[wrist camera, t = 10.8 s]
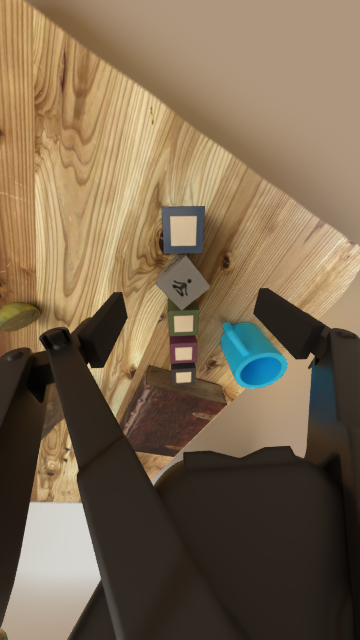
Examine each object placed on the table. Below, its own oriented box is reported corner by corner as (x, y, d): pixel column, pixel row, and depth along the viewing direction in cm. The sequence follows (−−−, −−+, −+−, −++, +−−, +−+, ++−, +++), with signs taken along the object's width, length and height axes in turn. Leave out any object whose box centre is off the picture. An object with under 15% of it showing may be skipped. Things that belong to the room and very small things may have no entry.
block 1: (198, 210, 20) (205, 206, 16) (196, 248, 22) (202, 253, 18) (163, 210, 20) (161, 206, 16) (165, 249, 22) (164, 254, 18)
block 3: (193, 327, 29) (197, 343, 25) (193, 345, 31) (196, 362, 28) (169, 328, 29) (169, 344, 25) (170, 346, 31) (170, 364, 27)
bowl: (86, 397, 38) (62, 446, 29) (25, 405, 38) (-16, 457, 30) (54, 355, 31) (9, 405, 22) (-21, 366, 31) (-93, 420, 23)
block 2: (194, 297, 26) (199, 310, 22) (194, 320, 28) (197, 335, 24) (168, 298, 26) (167, 311, 22) (169, 321, 28) (169, 336, 24)
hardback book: (147, 365, 34) (144, 385, 29) (220, 384, 38) (227, 404, 34) (116, 429, 47) (110, 449, 42) (173, 437, 51) (174, 456, 47)
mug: (267, 340, 32) (295, 372, 25) (233, 360, 34) (249, 394, 27) (238, 300, 27) (263, 326, 20) (200, 327, 29) (210, 358, 22)
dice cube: (158, 273, 24) (155, 284, 19) (183, 250, 22) (186, 255, 18) (179, 296, 26) (181, 310, 22) (203, 276, 24) (210, 287, 20)
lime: (41, 299, 25) (14, 314, 20) (47, 324, 27) (25, 342, 23) (9, 294, 24) (-26, 309, 20) (18, 320, 26) (-11, 338, 22)
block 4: (192, 351, 32) (196, 368, 28) (192, 366, 35) (195, 384, 31) (171, 352, 32) (171, 370, 28) (171, 367, 34) (172, 385, 30)
